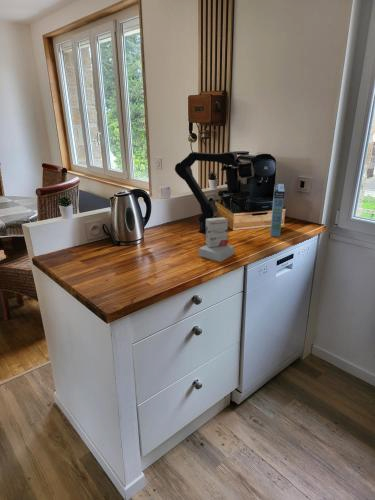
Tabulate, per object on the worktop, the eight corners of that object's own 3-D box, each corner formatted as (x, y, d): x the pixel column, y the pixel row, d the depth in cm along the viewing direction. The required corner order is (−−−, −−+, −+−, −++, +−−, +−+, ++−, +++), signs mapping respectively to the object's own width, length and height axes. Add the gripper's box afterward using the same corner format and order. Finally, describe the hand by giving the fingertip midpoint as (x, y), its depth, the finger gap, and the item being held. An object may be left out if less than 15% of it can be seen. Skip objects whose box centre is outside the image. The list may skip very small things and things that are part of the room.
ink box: (223, 242, 151) (224, 216, 148) (227, 245, 147) (228, 219, 143) (205, 244, 149) (205, 218, 145) (208, 247, 145) (208, 220, 141)
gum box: (270, 225, 186) (274, 183, 178) (280, 225, 185) (284, 183, 177) (270, 236, 168) (273, 190, 160) (280, 237, 167) (284, 191, 159)
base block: (198, 257, 146) (198, 248, 145) (213, 249, 154) (213, 241, 153) (220, 263, 140) (220, 254, 138) (233, 255, 148) (234, 246, 146)
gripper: (258, 176, 158) (260, 208, 163) (233, 175, 174) (236, 205, 179) (239, 180, 153) (243, 214, 158) (215, 179, 169) (219, 210, 174)
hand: (235, 210), depth 167 cm, fingers open, 9 cm apart
